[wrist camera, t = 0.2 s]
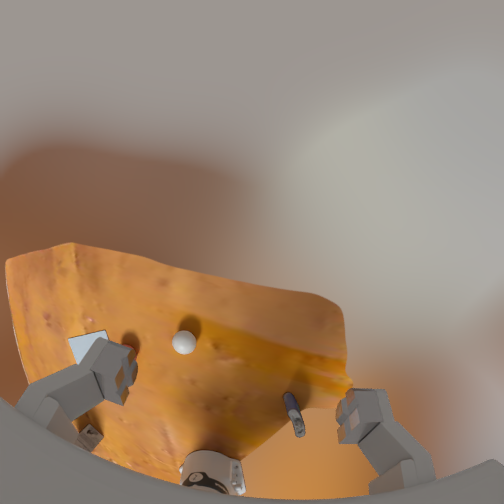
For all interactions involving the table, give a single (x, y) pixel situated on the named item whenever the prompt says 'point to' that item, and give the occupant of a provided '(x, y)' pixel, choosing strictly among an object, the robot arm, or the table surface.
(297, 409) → the flask
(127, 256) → the table surface
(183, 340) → the cue ball
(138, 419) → the table surface
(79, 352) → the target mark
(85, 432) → the coffee box
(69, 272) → the table surface
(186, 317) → the table surface
